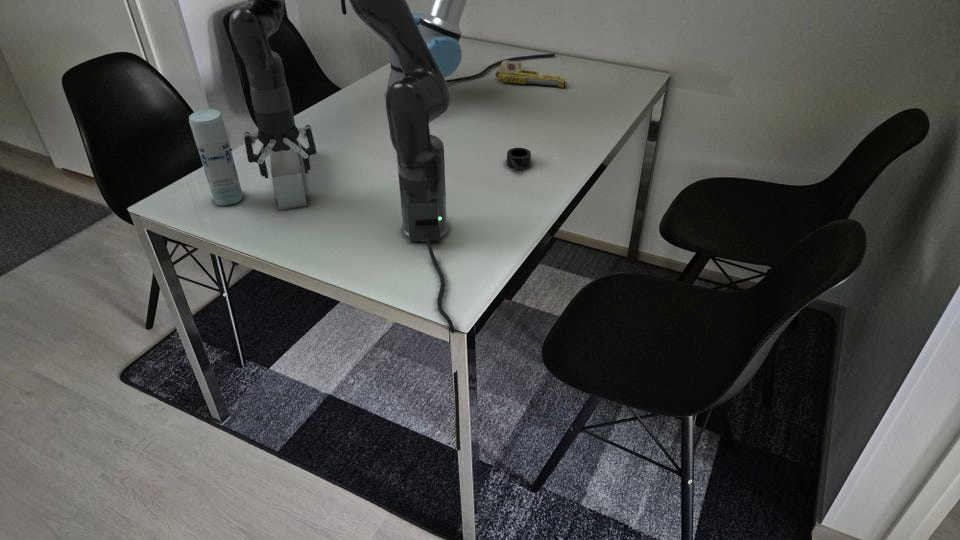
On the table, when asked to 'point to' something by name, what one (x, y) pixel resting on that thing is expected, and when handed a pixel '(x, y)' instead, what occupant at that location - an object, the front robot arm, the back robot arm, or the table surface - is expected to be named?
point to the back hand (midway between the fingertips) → (315, 15)
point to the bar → (287, 179)
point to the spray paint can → (216, 156)
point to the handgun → (526, 75)
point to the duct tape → (518, 158)
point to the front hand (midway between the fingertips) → (286, 174)
